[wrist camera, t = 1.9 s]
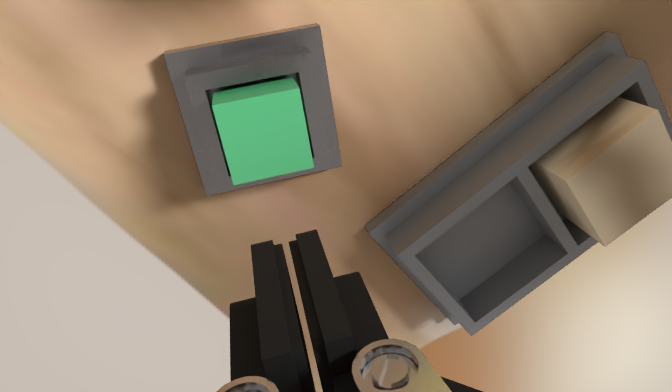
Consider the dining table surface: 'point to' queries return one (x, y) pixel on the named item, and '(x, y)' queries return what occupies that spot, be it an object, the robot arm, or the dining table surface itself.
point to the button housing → (244, 70)
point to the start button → (263, 130)
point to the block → (610, 170)
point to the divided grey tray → (506, 194)
